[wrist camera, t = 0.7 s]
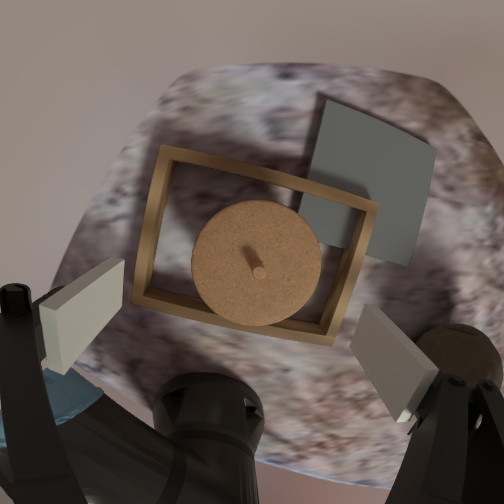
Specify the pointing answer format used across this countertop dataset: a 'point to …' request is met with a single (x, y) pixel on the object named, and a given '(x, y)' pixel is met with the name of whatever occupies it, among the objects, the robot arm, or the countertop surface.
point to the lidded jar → (256, 262)
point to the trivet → (368, 181)
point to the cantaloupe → (462, 353)
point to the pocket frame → (169, 155)
